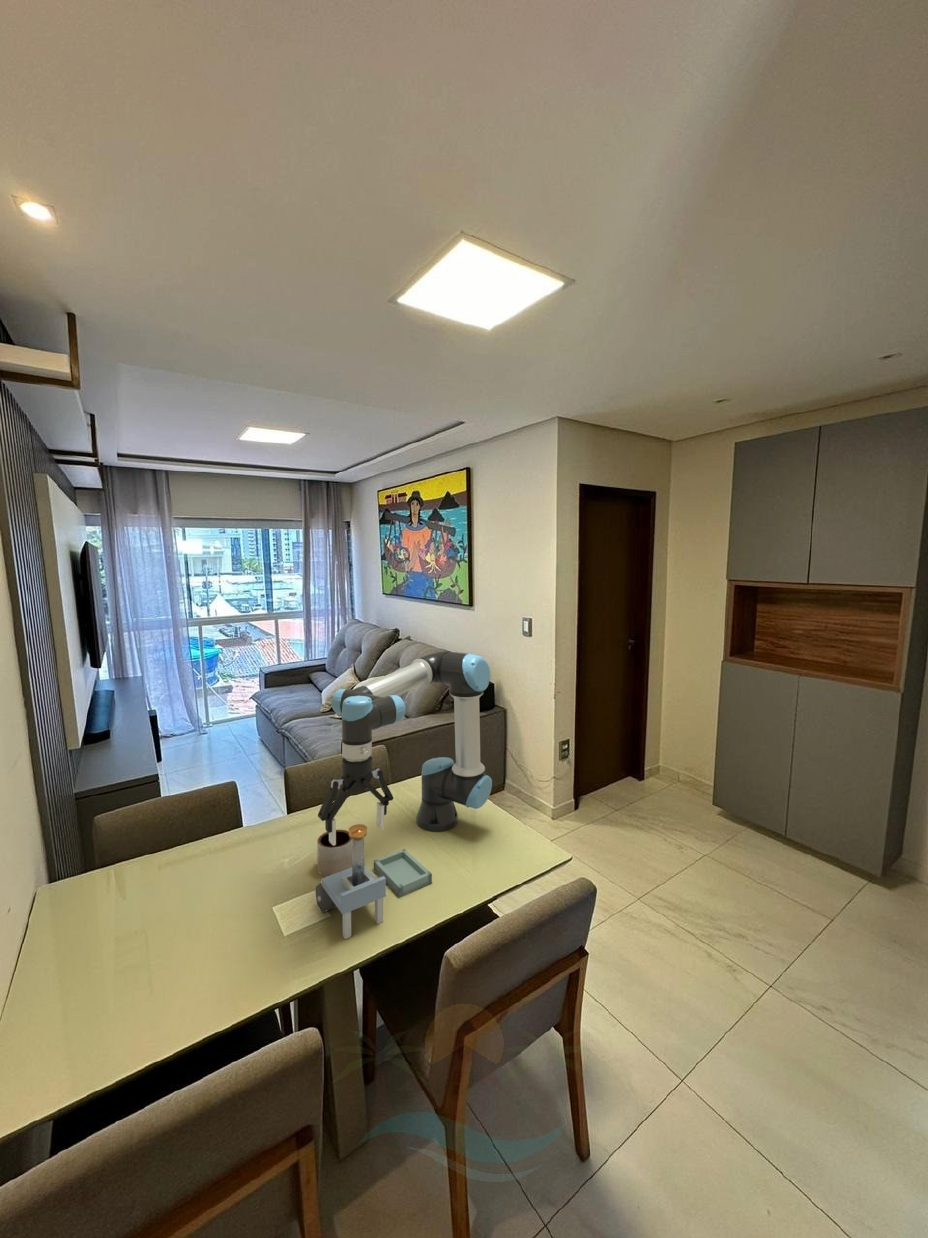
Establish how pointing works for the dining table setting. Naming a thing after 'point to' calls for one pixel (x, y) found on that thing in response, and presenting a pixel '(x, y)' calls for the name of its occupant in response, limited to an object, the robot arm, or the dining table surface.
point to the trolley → (351, 895)
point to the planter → (334, 853)
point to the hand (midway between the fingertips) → (357, 835)
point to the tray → (402, 872)
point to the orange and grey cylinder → (357, 852)
